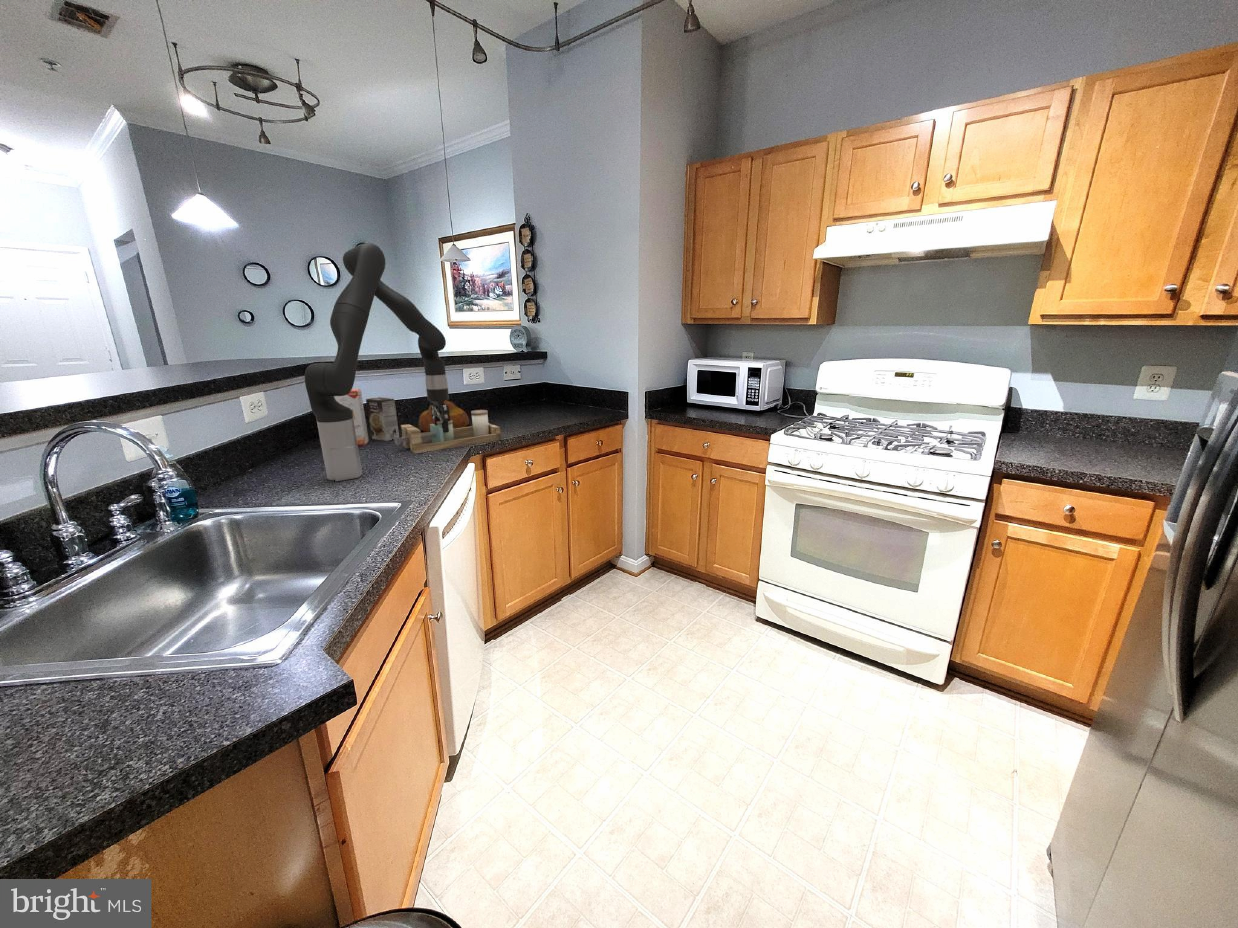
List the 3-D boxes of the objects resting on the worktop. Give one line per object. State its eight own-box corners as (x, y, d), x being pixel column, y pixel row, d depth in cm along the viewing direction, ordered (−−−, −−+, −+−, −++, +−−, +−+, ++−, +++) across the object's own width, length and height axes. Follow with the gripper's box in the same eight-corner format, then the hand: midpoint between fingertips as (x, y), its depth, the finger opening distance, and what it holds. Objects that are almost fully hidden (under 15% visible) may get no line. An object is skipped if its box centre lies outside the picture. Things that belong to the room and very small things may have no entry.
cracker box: (324, 448, 179) (314, 391, 173) (329, 444, 185) (319, 389, 179) (366, 445, 182) (357, 390, 177) (369, 441, 188) (360, 388, 182)
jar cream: (492, 438, 190) (490, 411, 187) (477, 441, 187) (474, 413, 184) (486, 436, 195) (483, 409, 192) (471, 438, 191) (468, 411, 188)
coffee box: (371, 439, 193) (364, 399, 188) (385, 435, 198) (379, 396, 194) (386, 441, 188) (380, 400, 184) (400, 438, 194) (394, 398, 189)
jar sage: (457, 444, 182) (454, 421, 180) (442, 446, 179) (439, 423, 176) (451, 441, 186) (449, 419, 184) (437, 443, 183) (434, 421, 181)
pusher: (444, 447, 177) (442, 428, 175) (401, 453, 168) (398, 434, 166) (434, 441, 185) (432, 423, 183) (393, 447, 176) (390, 429, 175)
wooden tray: (501, 439, 188) (499, 419, 186) (414, 453, 169) (411, 431, 167) (486, 433, 199) (484, 414, 197) (403, 446, 180) (400, 425, 178)
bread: (406, 437, 196) (402, 407, 193) (433, 421, 228) (430, 395, 224) (458, 436, 197) (455, 406, 194) (478, 421, 228) (475, 395, 225)
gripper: (453, 388, 173) (458, 432, 177) (441, 385, 183) (445, 426, 188) (432, 389, 168) (437, 435, 173) (420, 386, 179) (426, 429, 183)
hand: (442, 430), depth 180 cm, fingers open, 8 cm apart
